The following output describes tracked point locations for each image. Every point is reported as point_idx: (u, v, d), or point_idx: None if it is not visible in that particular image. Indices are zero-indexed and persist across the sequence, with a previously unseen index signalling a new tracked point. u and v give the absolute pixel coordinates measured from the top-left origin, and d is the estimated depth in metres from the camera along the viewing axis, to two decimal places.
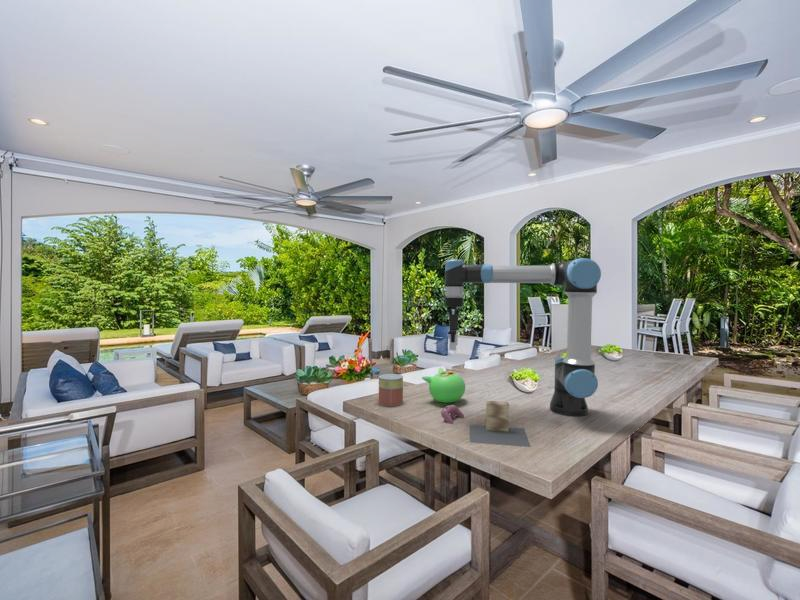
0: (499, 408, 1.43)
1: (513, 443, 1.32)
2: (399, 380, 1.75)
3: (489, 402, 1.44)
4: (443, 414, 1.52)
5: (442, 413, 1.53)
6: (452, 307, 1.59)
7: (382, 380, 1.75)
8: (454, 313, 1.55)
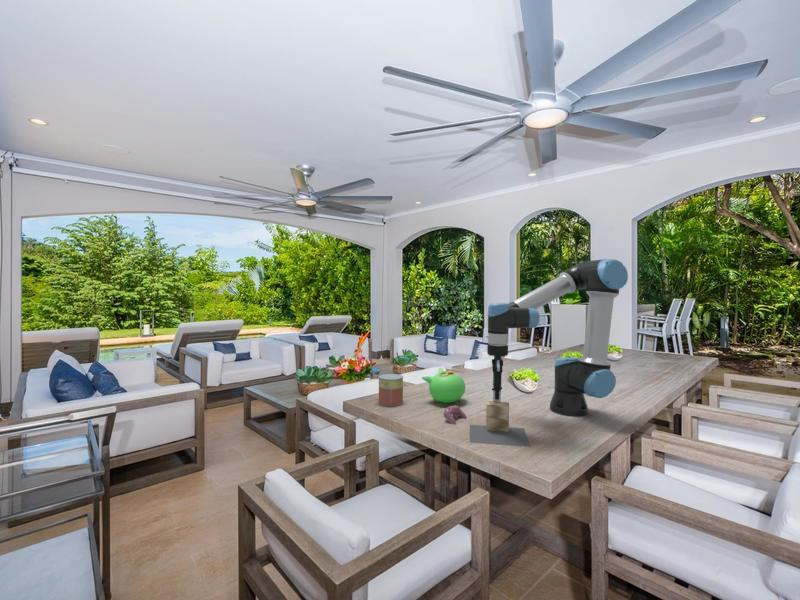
0: (499, 409, 1.41)
1: (513, 443, 1.32)
2: (399, 380, 1.75)
3: (489, 403, 1.43)
4: (445, 415, 1.52)
5: (444, 414, 1.52)
6: (496, 357, 1.41)
7: (382, 380, 1.75)
8: (499, 371, 1.39)
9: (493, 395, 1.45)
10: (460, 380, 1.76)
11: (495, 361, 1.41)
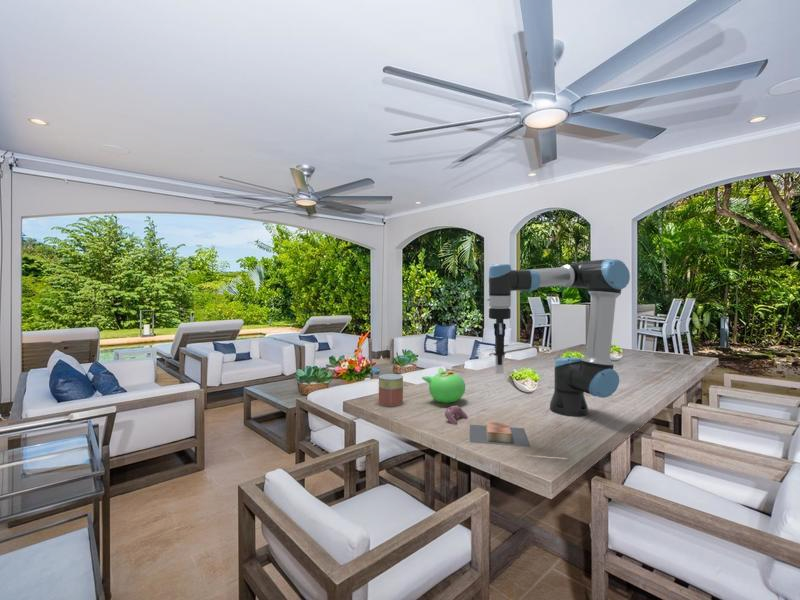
0: None
1: (513, 443, 1.32)
2: (399, 380, 1.75)
3: (490, 437, 1.34)
4: (447, 415, 1.52)
5: (446, 414, 1.52)
6: (499, 320, 1.35)
7: (382, 380, 1.75)
8: (502, 334, 1.34)
9: (495, 360, 1.39)
10: (460, 380, 1.76)
11: (497, 324, 1.35)
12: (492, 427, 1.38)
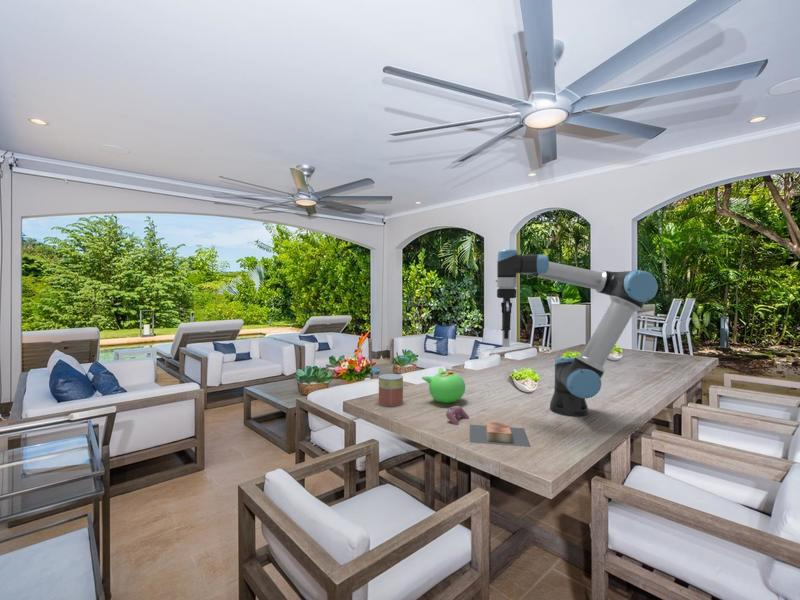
0: None
1: (513, 443, 1.32)
2: (399, 380, 1.75)
3: (490, 437, 1.34)
4: (448, 415, 1.51)
5: (447, 414, 1.52)
6: (506, 298, 1.53)
7: (382, 380, 1.75)
8: (509, 310, 1.51)
9: (502, 335, 1.57)
10: (460, 380, 1.76)
11: (504, 302, 1.53)
12: (492, 427, 1.38)
